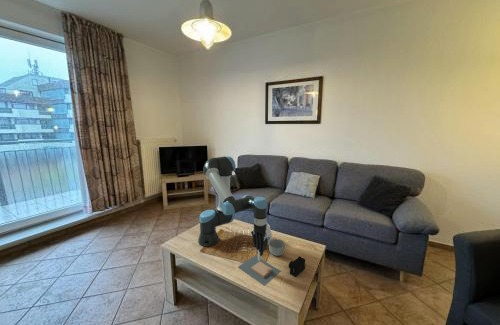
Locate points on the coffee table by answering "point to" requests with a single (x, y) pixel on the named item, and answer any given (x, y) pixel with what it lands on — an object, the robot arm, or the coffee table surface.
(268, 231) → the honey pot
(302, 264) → the digital camera
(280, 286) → the coffee table surface
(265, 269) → the tile
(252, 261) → the mat
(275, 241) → the teacup
